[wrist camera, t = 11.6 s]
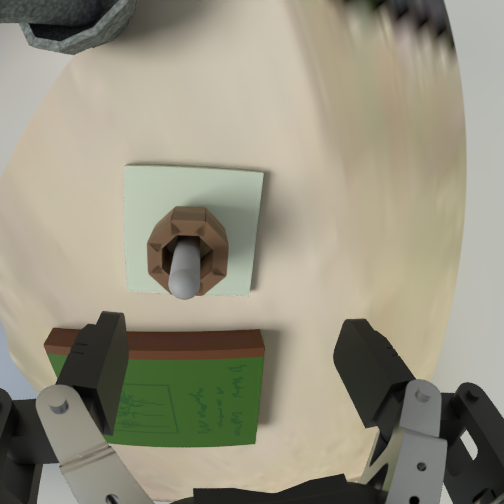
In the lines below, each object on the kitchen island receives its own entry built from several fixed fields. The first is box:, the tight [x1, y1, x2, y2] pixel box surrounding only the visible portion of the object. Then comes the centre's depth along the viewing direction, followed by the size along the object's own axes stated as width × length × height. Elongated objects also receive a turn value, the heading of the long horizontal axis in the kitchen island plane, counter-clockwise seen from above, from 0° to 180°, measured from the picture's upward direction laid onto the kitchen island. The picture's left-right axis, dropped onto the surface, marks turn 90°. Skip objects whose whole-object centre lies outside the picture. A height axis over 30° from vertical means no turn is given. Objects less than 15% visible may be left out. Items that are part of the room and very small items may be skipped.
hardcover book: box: [44, 328, 265, 447], centre depth 34 cm, size 25×19×4 cm
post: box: [124, 165, 264, 300], centre depth 23 cm, size 12×12×11 cm
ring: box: [147, 206, 229, 296], centre depth 24 cm, size 6×6×4 cm
